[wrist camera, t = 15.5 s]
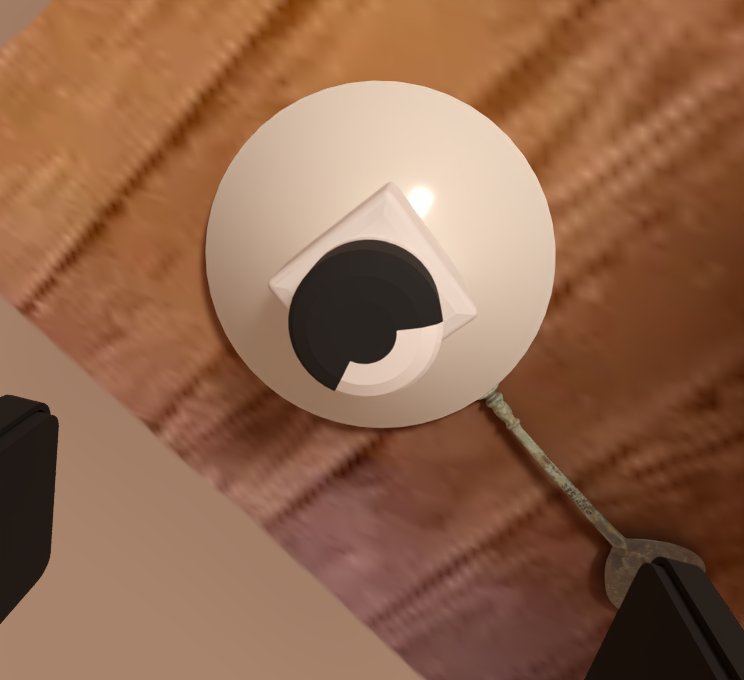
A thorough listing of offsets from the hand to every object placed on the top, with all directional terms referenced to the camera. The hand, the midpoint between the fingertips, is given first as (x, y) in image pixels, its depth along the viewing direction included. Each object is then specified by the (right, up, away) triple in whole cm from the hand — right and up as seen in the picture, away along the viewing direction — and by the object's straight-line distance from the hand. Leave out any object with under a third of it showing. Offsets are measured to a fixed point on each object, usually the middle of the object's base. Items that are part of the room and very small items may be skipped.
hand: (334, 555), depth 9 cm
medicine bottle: (+1, +8, +24) cm, 25 cm away
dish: (+1, +8, +25) cm, 26 cm away
